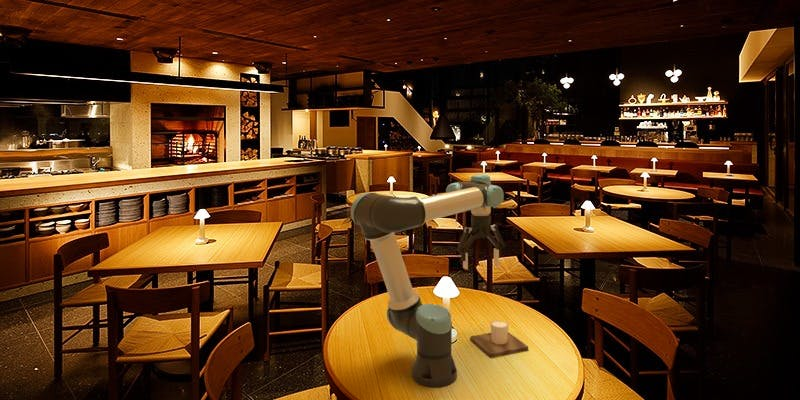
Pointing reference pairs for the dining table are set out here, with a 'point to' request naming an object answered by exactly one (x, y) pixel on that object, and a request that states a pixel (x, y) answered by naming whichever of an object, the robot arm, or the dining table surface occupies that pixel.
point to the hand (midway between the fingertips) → (480, 266)
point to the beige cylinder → (499, 332)
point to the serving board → (498, 345)
